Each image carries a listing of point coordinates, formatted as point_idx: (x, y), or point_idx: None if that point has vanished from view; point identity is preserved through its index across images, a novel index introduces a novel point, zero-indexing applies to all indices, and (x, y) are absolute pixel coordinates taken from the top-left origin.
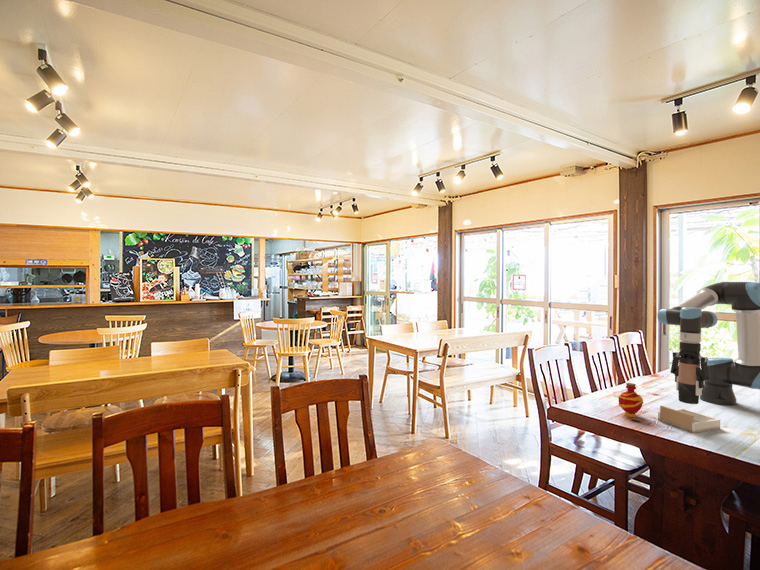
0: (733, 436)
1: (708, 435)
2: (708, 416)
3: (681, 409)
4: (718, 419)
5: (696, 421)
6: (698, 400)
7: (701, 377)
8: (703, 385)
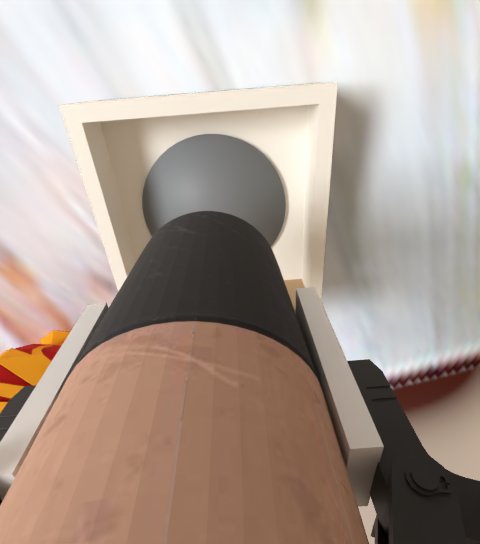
0: (416, 138)
1: (351, 250)
2: (260, 99)
3: (88, 145)
4: (329, 93)
5: (224, 161)
6: (276, 260)
7: (413, 532)
8: (391, 395)
